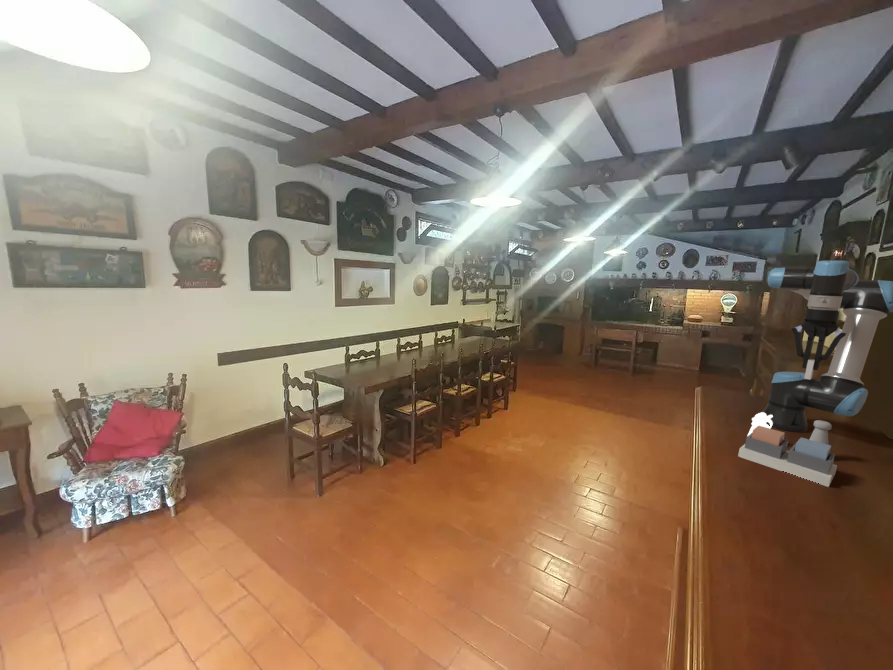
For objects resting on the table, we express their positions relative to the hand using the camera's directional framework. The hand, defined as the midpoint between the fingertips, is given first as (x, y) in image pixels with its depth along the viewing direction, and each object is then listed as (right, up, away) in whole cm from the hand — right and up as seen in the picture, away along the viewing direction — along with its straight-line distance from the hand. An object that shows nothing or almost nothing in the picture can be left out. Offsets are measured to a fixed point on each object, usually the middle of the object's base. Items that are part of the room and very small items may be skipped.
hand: (808, 378), depth 122 cm
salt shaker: (+8, -28, +6) cm, 30 cm away
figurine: (-4, -26, +15) cm, 31 cm away
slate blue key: (-5, -25, -6) cm, 26 cm away
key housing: (-9, -29, -1) cm, 30 cm away
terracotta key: (-12, -23, +2) cm, 26 cm away
